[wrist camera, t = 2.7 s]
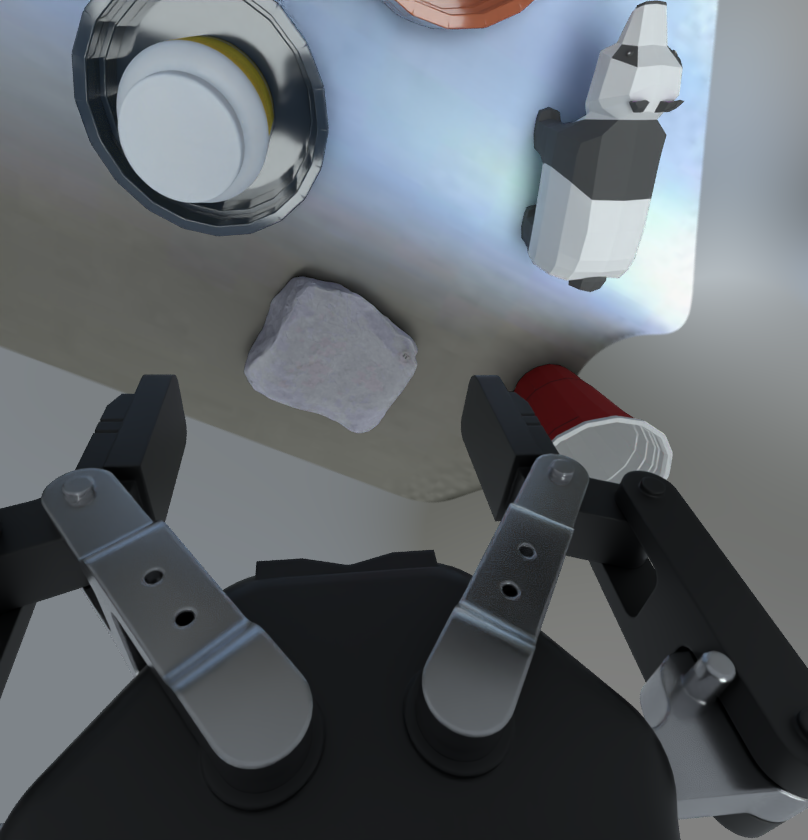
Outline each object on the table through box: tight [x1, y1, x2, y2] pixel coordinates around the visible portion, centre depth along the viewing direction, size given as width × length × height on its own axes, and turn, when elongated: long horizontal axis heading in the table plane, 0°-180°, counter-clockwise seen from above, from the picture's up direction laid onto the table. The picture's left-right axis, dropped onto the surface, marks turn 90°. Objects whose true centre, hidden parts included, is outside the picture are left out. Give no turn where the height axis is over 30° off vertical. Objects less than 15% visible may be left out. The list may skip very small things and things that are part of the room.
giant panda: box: [521, 1, 684, 292], centre depth 31 cm, size 15×6×10 cm, turn 179°
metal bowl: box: [72, 0, 328, 236], centre depth 28 cm, size 12×12×4 cm
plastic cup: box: [514, 364, 673, 484], centre depth 42 cm, size 11×11×12 cm
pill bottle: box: [117, 35, 275, 203], centre depth 25 cm, size 6×6×12 cm
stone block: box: [244, 276, 418, 433], centre depth 39 cm, size 12×5×10 cm
